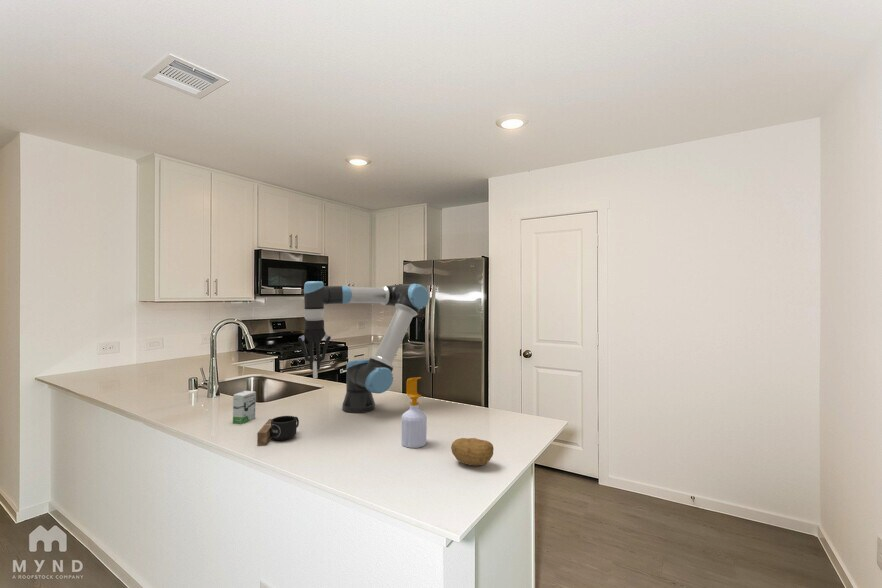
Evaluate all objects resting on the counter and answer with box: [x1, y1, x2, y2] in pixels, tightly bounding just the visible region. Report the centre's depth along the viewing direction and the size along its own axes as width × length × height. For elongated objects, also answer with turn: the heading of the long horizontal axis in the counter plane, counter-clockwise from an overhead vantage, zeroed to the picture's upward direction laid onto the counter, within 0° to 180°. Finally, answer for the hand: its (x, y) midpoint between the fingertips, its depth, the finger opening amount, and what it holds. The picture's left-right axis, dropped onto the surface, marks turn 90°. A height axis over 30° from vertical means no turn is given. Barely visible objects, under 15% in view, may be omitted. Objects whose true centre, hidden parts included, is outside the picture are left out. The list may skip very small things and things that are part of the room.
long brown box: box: [256, 418, 273, 446], centre depth 153 cm, size 3×16×5 cm, turn 9°
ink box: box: [232, 390, 257, 425], centre depth 173 cm, size 9×5×12 cm, turn 168°
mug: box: [271, 415, 300, 442], centre depth 154 cm, size 12×9×7 cm
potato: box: [450, 437, 494, 467], centre depth 132 cm, size 10×14×8 cm
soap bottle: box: [401, 376, 428, 449], centre depth 149 cm, size 9×9×25 cm
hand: (315, 377), depth 165 cm, fingers closed
